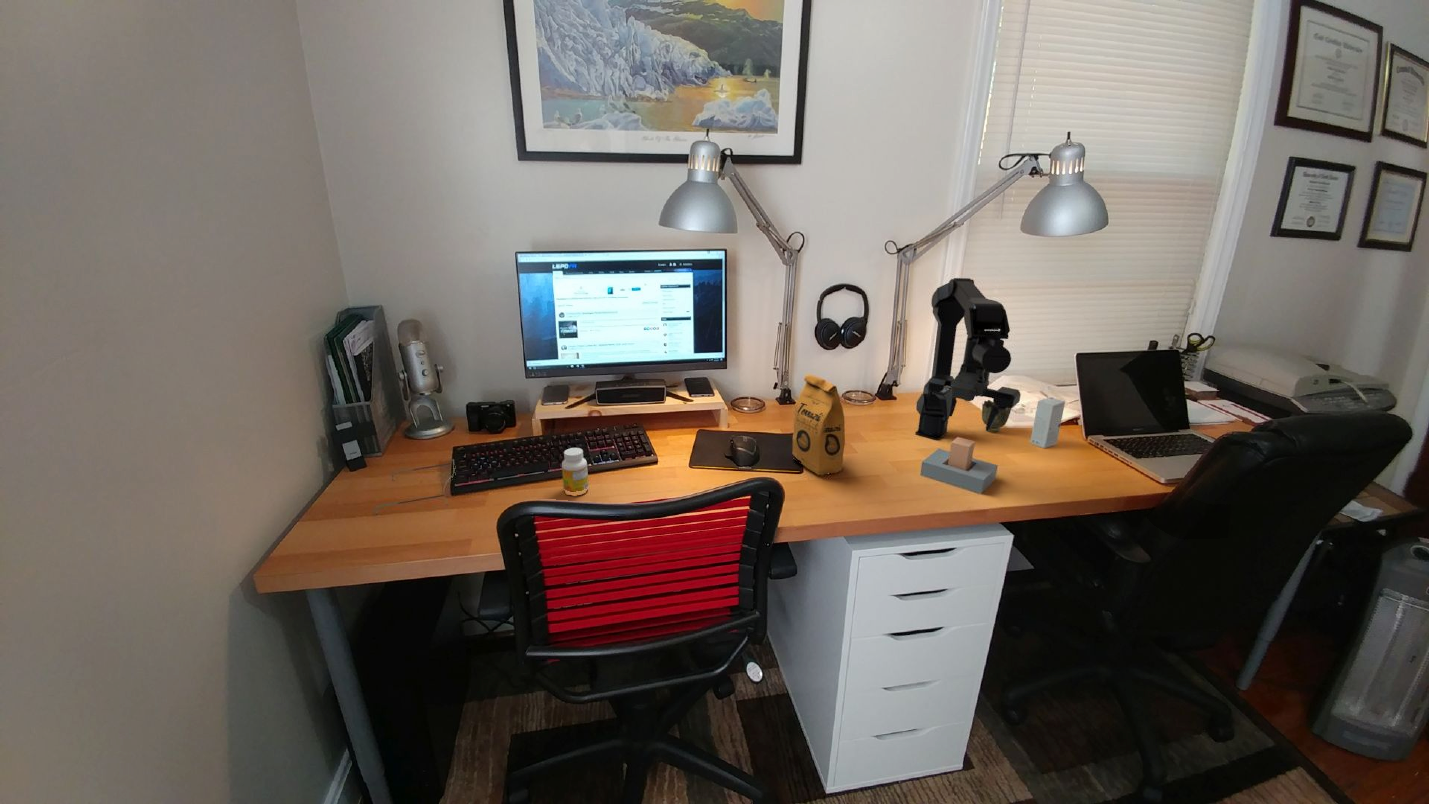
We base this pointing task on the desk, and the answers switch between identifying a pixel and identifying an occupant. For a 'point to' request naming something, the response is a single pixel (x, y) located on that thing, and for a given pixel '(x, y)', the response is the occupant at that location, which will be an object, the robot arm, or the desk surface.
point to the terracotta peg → (961, 453)
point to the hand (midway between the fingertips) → (966, 425)
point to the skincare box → (1047, 422)
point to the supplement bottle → (574, 470)
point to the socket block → (959, 472)
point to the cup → (999, 420)
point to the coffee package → (819, 427)
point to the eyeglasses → (421, 498)
